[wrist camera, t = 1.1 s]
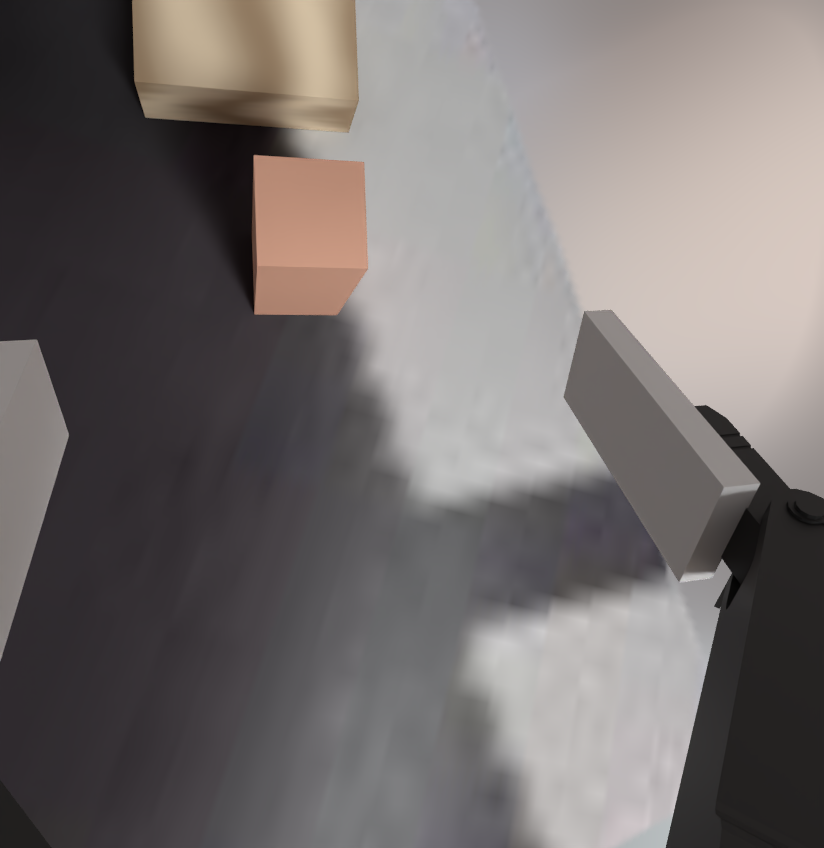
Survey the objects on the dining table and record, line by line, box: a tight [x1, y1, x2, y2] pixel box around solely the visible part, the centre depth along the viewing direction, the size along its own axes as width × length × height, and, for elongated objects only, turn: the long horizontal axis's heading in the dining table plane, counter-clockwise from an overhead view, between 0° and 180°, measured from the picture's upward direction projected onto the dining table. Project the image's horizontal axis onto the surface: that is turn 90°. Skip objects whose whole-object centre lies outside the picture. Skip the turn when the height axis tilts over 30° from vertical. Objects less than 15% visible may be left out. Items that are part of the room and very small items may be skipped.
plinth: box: [132, 0, 359, 132], centre depth 39 cm, size 12×12×4 cm
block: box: [252, 155, 368, 315], centre depth 36 cm, size 5×5×11 cm
